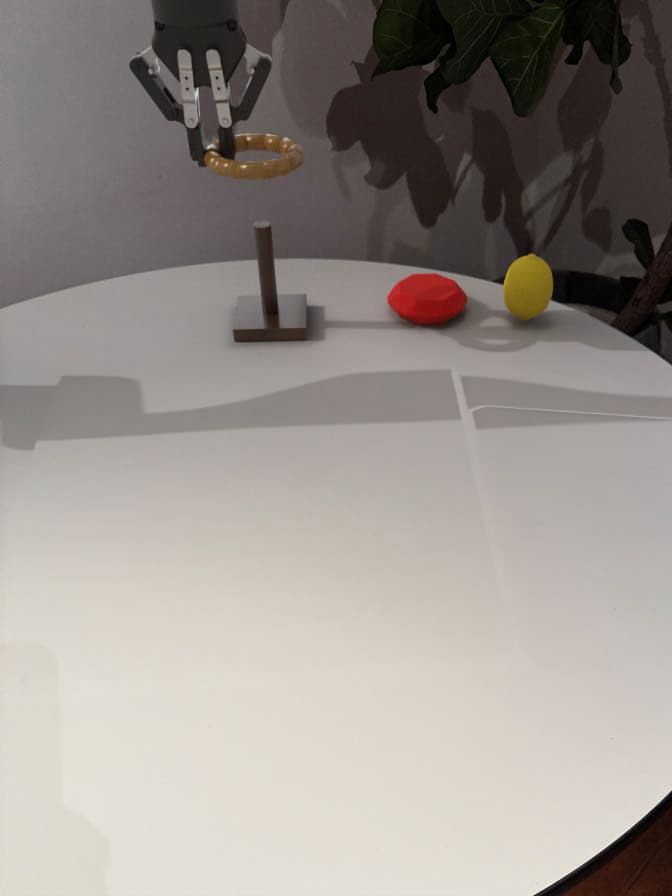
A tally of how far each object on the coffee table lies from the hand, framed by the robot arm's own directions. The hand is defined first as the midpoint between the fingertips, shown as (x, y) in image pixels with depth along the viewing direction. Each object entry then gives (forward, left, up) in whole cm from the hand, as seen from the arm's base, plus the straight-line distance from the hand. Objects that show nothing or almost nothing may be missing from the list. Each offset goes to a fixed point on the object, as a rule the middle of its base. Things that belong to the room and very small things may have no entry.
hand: (215, 163), depth 86 cm
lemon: (+33, 0, -18) cm, 38 cm away
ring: (+4, 0, +1) cm, 4 cm away
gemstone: (+22, +3, -18) cm, 29 cm away
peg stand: (+4, +1, -18) cm, 18 cm away
